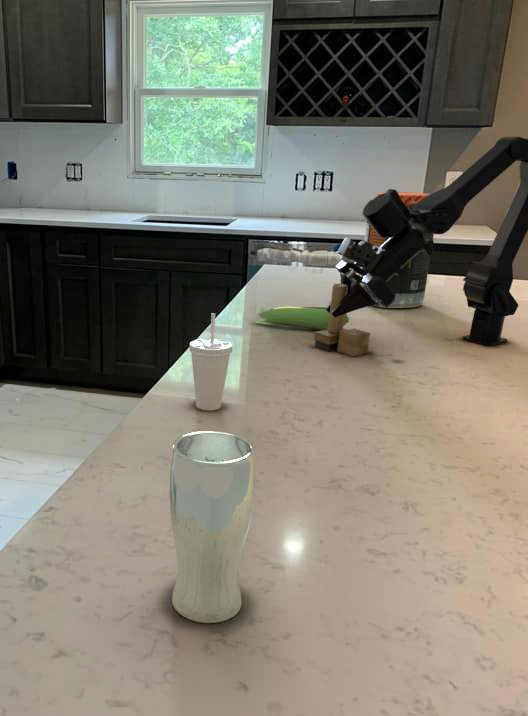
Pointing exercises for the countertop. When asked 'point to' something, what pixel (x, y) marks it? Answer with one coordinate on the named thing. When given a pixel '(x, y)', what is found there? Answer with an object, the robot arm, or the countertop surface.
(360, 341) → the cork block
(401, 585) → the countertop surface
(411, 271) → the supplement tub
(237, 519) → the beer glass
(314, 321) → the edible corn
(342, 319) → the brush
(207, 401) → the smoothie
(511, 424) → the countertop surface
